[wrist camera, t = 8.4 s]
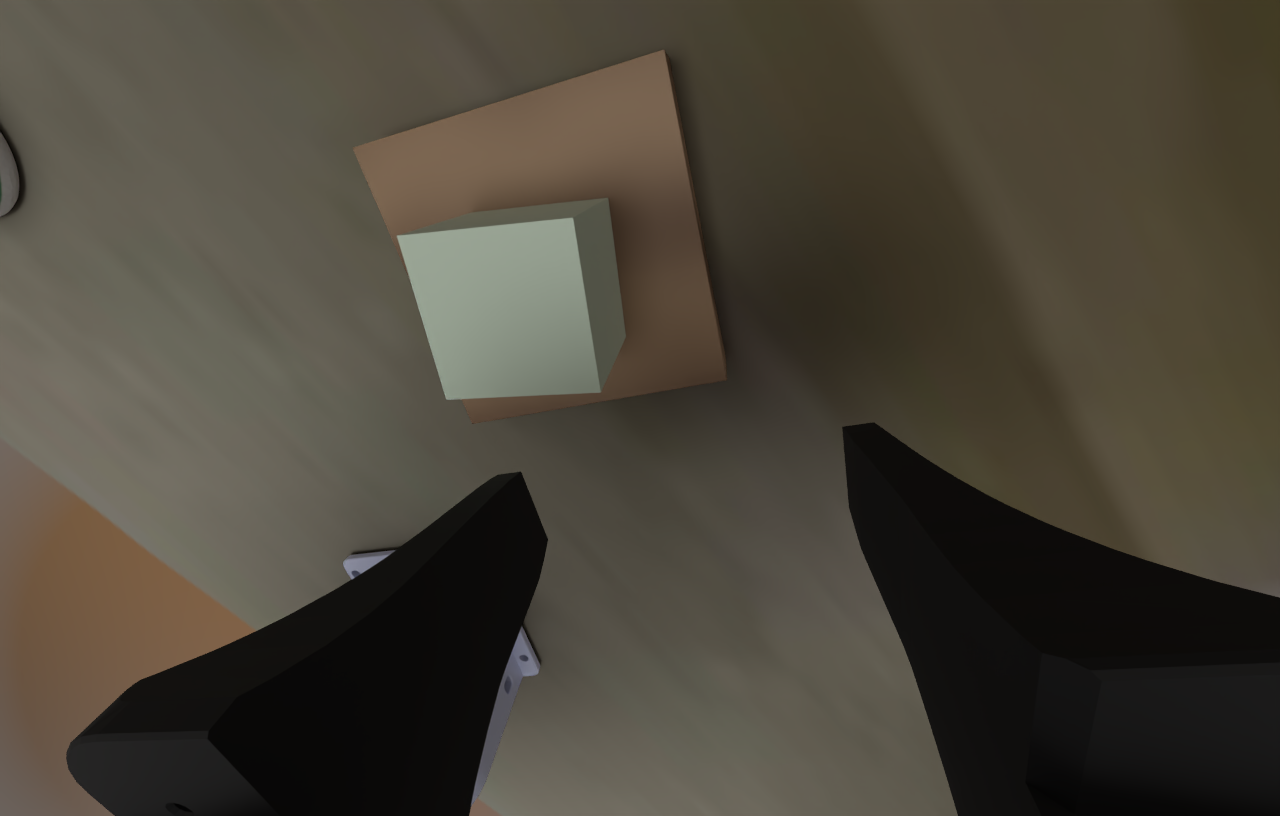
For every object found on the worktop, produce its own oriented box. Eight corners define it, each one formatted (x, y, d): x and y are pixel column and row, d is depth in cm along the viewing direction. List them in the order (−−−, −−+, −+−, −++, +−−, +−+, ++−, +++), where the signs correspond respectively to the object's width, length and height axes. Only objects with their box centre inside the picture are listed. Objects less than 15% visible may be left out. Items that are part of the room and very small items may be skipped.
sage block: (626, 336, 18) (600, 392, 14) (503, 344, 19) (446, 399, 15) (608, 197, 16) (572, 217, 12) (471, 212, 17) (396, 235, 13)
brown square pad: (725, 353, 21) (727, 380, 19) (495, 396, 23) (472, 423, 21) (670, 60, 17) (663, 49, 14) (394, 146, 19) (352, 147, 17)
